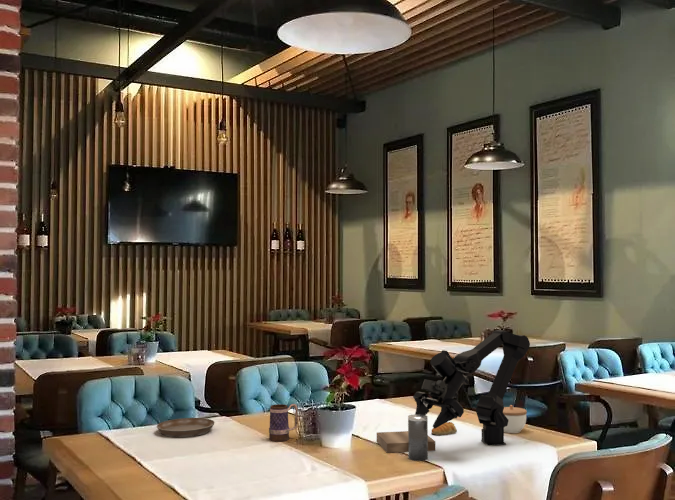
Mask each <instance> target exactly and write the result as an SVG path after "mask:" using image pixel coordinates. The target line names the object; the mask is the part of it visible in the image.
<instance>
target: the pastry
mask: <svg viewBox="0 0 675 500" xmlns="http://www.w3.org/2000/svg"><path fill="white" fill-rule="evenodd" d="M457 432H458V429H457V427H456V426H455V423H454V422H451V421H448V422H446V423H444V424H442V425H441V426H439V427H437V428H432V429H431V434H433V435H437V436H439V437H440V436H449V435H454V434H456V433H457Z"/></svg>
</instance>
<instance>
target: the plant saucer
mask: <svg viewBox="0 0 675 500" xmlns="http://www.w3.org/2000/svg"><path fill="white" fill-rule="evenodd" d="M215 423H216V422H215V420H214V419H210V418H204V417H184V418H175V419H170V420H169V419H168V420H165V421H162V422H159V423H158V424H157V425H156V428H157V430H158V431H159V432H160V434H162V435H163V436H166V437H171V438H191V437H196V436H202V435H205V434H207V433H208V432H210V430H211V429H212V428H213V426H215Z"/></svg>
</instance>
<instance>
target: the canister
mask: <svg viewBox="0 0 675 500" xmlns="http://www.w3.org/2000/svg"><path fill="white" fill-rule="evenodd" d="M407 420H408V421H407V428H408V429H407V431H408V452H407V453H408V458H407V459H408V460H410V461H413V462H414V461H415V462H424V461H427V460H428V458H429V455H428V454H429V451H428V436H429V433H428V420H429V419H428V415H427V414H426V415H420V414H415V413H414V414H409V415H407Z"/></svg>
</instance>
